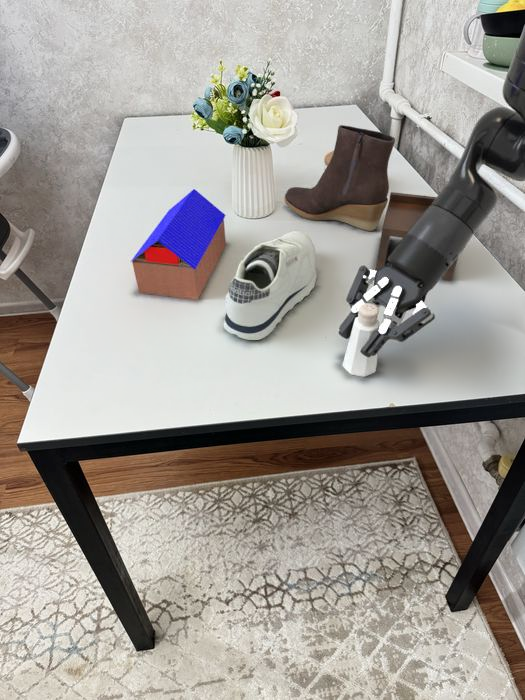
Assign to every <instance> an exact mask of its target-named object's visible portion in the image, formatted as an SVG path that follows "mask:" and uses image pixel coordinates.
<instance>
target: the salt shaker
mask: <svg viewBox="0 0 525 700" xmlns="http://www.w3.org/2000/svg"><path fill="white" fill-rule="evenodd" d="M358 310H359V313H358V317H356V318H355V321H354V324H353V328H352V331H351V335H350V337H349V338H348V343H347V346H346V351H345V354H344V358H343V362H342V367H343V368H344V369H345V370H346V371H347V372H348V374H350V375H351V376H357V377H362V378H365V377H368V376H369V375H372V374H374V373H376V371H377V366H378V353H379V352H378V353H377V354H376V355H374V356H372V355H371V357H366V356H364V355H363V354H362V353H361V352H360V351H361V349H362V348H363V346H364V345H365V344H366V343H367V341H368V340H369V339H370V337H371V336H372V335H373V334H374V332H375V331H377V332H378V331H379V328H380V320H378V316H379V312H380V308H378V307H377V306H376V305H374V304H371V303H365V304H362V305H361V306H359V309H358Z"/></svg>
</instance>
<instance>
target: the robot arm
mask: <svg viewBox="0 0 525 700" xmlns="http://www.w3.org/2000/svg"><path fill="white" fill-rule="evenodd" d="M508 67H509V68H508V71H507V73H506V76H505V79H504V82H503V85H502V90H501V91H502V98H503V100H504V101H505V103H506V104H507V105H508V106H509V107H510V108H511V109H510V108H508V107H506V106H496V107H494V108H492V109H489V110H488V111H486V112H485V113H484V114H482V115H481V116H480V118H479V119H478V120H477V121H476V123H475V125H474V126H473V128H472V130H471V132H470V134H469V136H468V140H467V142H466V145H465V148H464V150H463V152H462V155H461V157H460V159H459V161H458V163H457V164H456V167H455V169H454V170H453V172H452V174H451V177H450V178H449V180H448V181H447V182H446V184H445V186H444V187H443V188H442V190H441V191H440V192H439V194H438V195H437V196H436V197H437V198H436V199H435V200H434V202H433V203H432V204H431V206H429V208H428V209H427V210H426V211H425V212H424V213H423V214H422V215H421V216H420V217H419V218H418V219H417V221H416V222H415V223H414V224H413V226H412V227H411V228H410V230H409V231H408V232H407V234H406V235H405V236H404V238H401V240H400V241H399V243H398V244H397V245H396V247H395V248H394V249H393V251H392V252H391V253H390V254H389V256H388V257H387V259H386V262H385V265H384V266H383V267H382V268H380V269H378V270H376V269H375V270H374V269H370V268H368V267H367V266H366V265H360V267H359V268H358V270H357V272H356V275H355V277H354V279H353V281H352V284H351V287H350V289H349V291H348V293H347V295H346V298H345V301H346V303H347V304H348V305H349V307H350V312H349V313H348V315H347V316H346V317H345V319H344V320H343V321H342V323H341V324H340V325H339V328H338V330H339V331H338V335H339V336H340V337H342V338H343V339H345V340H349V339H350V335H351V331H352V328H353V324H354V321H355V318H356V317H358V313H359V310H358V309H359V306H361V305H362V304H365V303H371V304H374V305H376V306H377V307H378V309H380V307H381V306H382V307H384V308H385V310H384V312H383V319H382V321H381V323H380V324H379V331H378V332H377V331H375V332H374V334H373V335H372V336H371V337H370V339H369V340H368V341H367V343H366V344H365V345H364V346H363V348H362V349H361V351H360V352H361V353H362V354H363V355H364V356H366V357H371V355H372V356H374V355H376V354H377V353H379V352H380V350H381V349H382V348H383V347H384V346H385V344H386V343H387V342H388V341H389V340H395V341H397V342H400V343H403V342H405V341H407V340H408V339H409V338H410V337H412V336H414V335H415V334H416V333H418V332H419V331H420V330H422V329H423V328H425V327H426V326H428V325H429V324H430V323H432V322H433V321H434V320H435V319H436V315H435V314H434V312H433V311H432V310H431V309H429V308H428V307H429V306H427V305H426V303H425V302H426V298H427V295H428V293H429V292H430V291H432V290H433V289H434V288H435V286H436V285H437V284H438V283H439V282H440V280H441V279H442V278H443V275H444V274H445V272H446V271H447V270H448V269H449V267H450V266H451V265H452V264H453V262H455V261H456V260H457V261H458V259H459V256H460V255H461V254H462V252H463V251H464V250H465V248H466V247H467V245H468V244H469V242H470V240H471V238H472V237H473V235H474V234H475V233H476V232H477V231H478V230H479V228H480V227H481V226H482V225H483V223H484V222H485V221H486V220H487V218H488V217H489V216H490V214H491V213H492V212H493V211H494V209H495V208H496V206H497V204H498V202H499V196H498V193H497V192H496V190H495V189H494V187H492V185H491V184H489V182H487V181H486V180H485V179H484V178H483V177H482V176H481V175H480V173H479V170H480V169H481V168H482V166H483V165H484V166H486V167H488V168H490V169H492V170H494V171H496V172H497V173H500V174H501V175H503V176H505V177H507V178H509V179H510V180H513V181H515V182H525V25H524V26H523V29H522V31H521V35H520V37H519V40H518V43H517V46H516V49H515V51H514V53H513V57H512V59H511V62H510V65H509V66H508ZM457 258H458V259H457ZM372 284H373V286H372V287H371V288H370V289H369V286H370V285H372ZM368 289H369V290H368ZM410 310H411V311H412V310H413V312H412V315H410V316H409V317H408V318H407V319H406V320H404V317H405V316H406V313H407V312H408V311H410ZM403 320H404V321H403Z"/></svg>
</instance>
